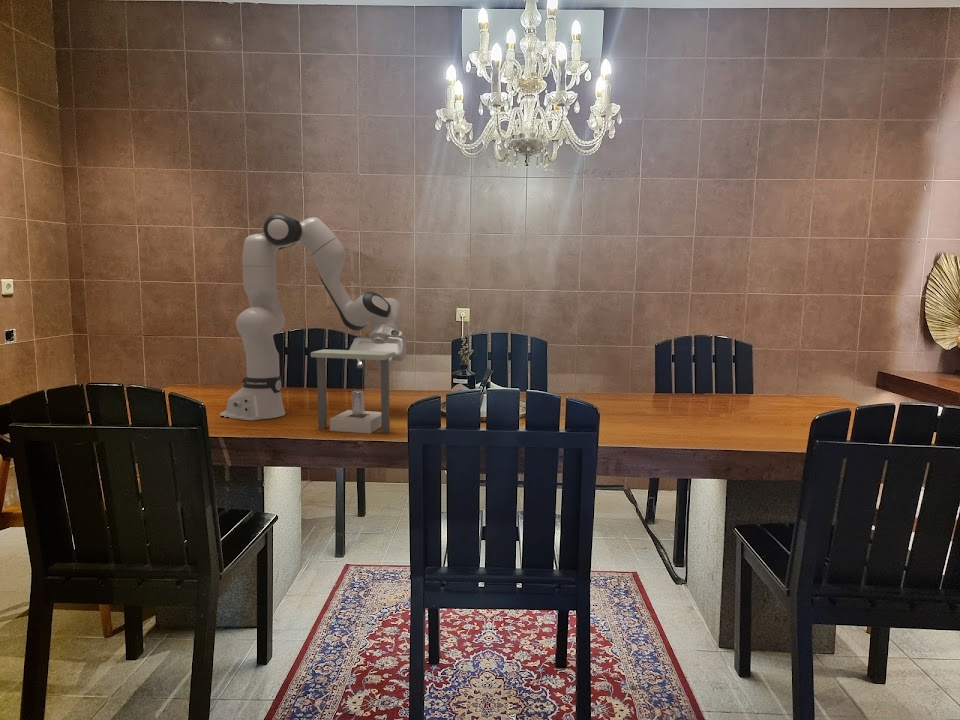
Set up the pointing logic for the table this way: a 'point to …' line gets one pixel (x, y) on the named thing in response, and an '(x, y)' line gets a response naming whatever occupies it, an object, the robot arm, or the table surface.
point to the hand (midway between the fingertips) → (372, 367)
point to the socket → (356, 422)
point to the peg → (358, 404)
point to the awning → (353, 355)
